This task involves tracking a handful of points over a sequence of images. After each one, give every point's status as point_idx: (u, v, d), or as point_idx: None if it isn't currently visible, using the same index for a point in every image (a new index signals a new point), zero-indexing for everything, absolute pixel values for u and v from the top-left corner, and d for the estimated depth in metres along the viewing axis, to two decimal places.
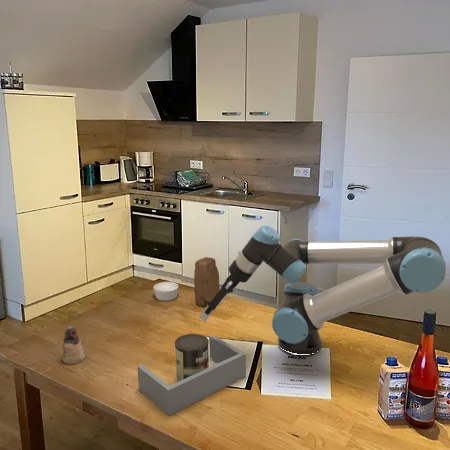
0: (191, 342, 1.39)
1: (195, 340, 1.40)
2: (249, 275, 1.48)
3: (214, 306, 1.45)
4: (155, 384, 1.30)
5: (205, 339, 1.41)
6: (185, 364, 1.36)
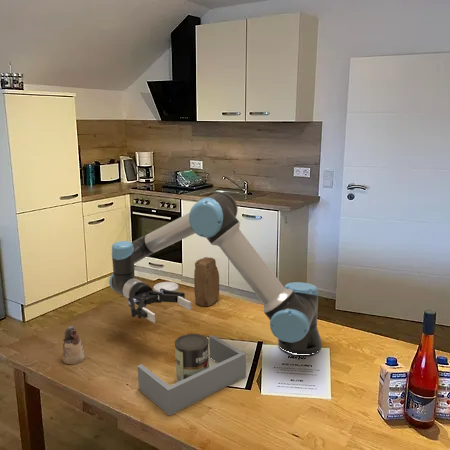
0: (191, 342, 1.39)
1: (195, 340, 1.40)
2: (134, 285, 1.59)
3: (131, 309, 1.45)
4: (155, 384, 1.30)
5: (205, 339, 1.41)
6: (185, 364, 1.36)
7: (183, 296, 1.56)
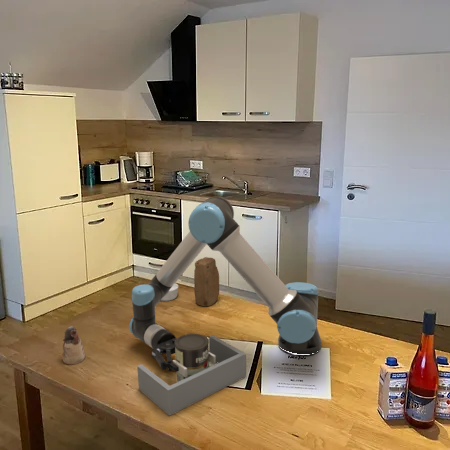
0: (191, 342, 1.39)
1: (195, 340, 1.40)
2: (156, 332, 1.52)
3: (161, 362, 1.39)
4: (155, 384, 1.30)
5: (205, 339, 1.41)
6: (185, 364, 1.36)
7: None
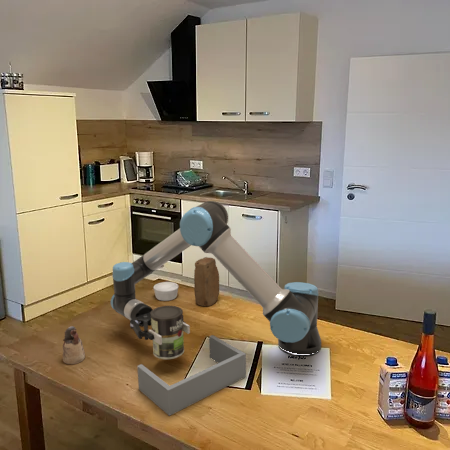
0: (166, 312, 1.48)
1: (170, 311, 1.49)
2: (135, 306, 1.61)
3: (138, 332, 1.47)
4: (155, 384, 1.30)
5: (179, 310, 1.49)
6: (160, 332, 1.44)
7: None
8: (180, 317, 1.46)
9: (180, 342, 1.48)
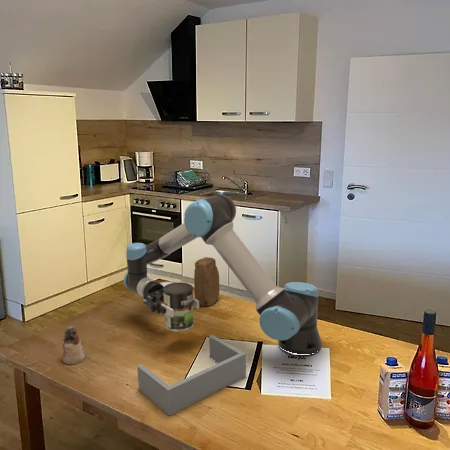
0: (177, 288, 1.59)
1: (181, 287, 1.60)
2: (147, 283, 1.72)
3: (151, 305, 1.58)
4: (155, 384, 1.30)
5: (190, 286, 1.60)
6: (171, 306, 1.56)
7: None
8: (190, 292, 1.57)
9: (190, 316, 1.59)
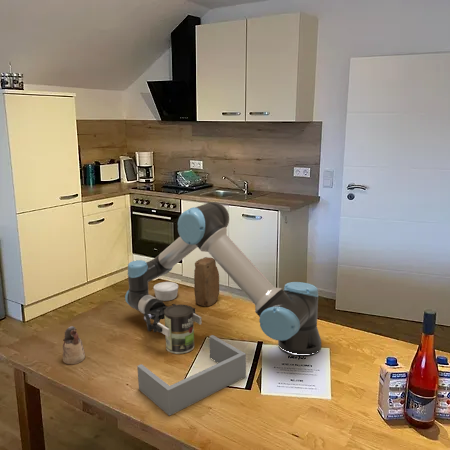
0: (178, 311, 1.61)
1: (182, 309, 1.62)
2: (148, 301, 1.73)
3: (147, 325, 1.60)
4: (155, 384, 1.30)
5: (190, 308, 1.62)
6: (172, 329, 1.58)
7: (194, 311, 1.71)
8: (191, 315, 1.59)
9: (191, 338, 1.61)
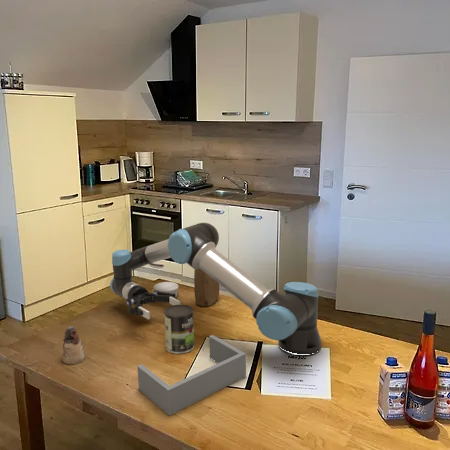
0: (178, 311, 1.61)
1: (182, 309, 1.62)
2: (131, 287, 1.83)
3: (129, 308, 1.69)
4: (155, 384, 1.30)
5: (190, 308, 1.62)
6: (172, 329, 1.58)
7: (174, 296, 1.80)
8: (191, 315, 1.59)
9: (191, 338, 1.61)
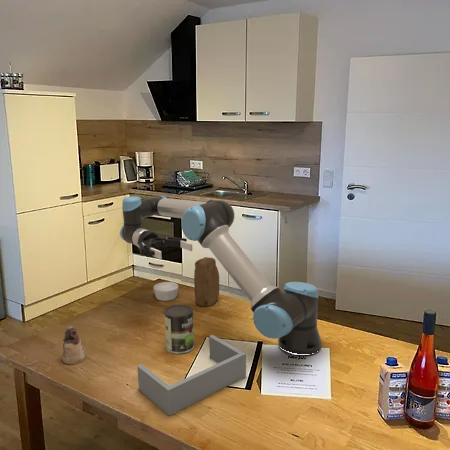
0: (178, 311, 1.61)
1: (181, 309, 1.62)
2: (142, 232, 1.81)
3: (140, 249, 1.68)
4: (155, 384, 1.30)
5: (190, 308, 1.62)
6: (172, 329, 1.58)
7: (185, 241, 1.79)
8: (191, 315, 1.59)
9: (191, 338, 1.61)
